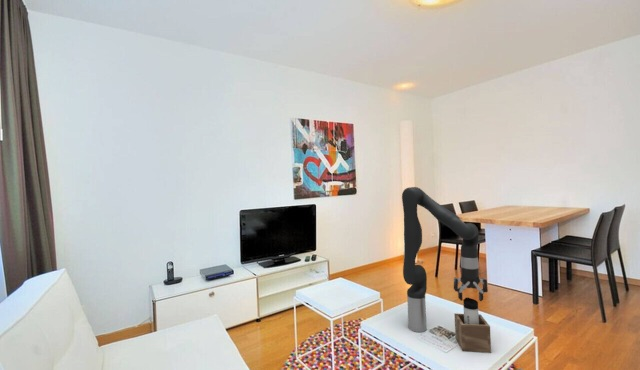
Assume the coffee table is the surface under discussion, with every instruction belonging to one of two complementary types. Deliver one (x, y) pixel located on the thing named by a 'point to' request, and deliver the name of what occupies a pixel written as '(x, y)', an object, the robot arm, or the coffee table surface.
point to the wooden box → (473, 335)
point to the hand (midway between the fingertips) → (470, 300)
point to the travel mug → (471, 311)
